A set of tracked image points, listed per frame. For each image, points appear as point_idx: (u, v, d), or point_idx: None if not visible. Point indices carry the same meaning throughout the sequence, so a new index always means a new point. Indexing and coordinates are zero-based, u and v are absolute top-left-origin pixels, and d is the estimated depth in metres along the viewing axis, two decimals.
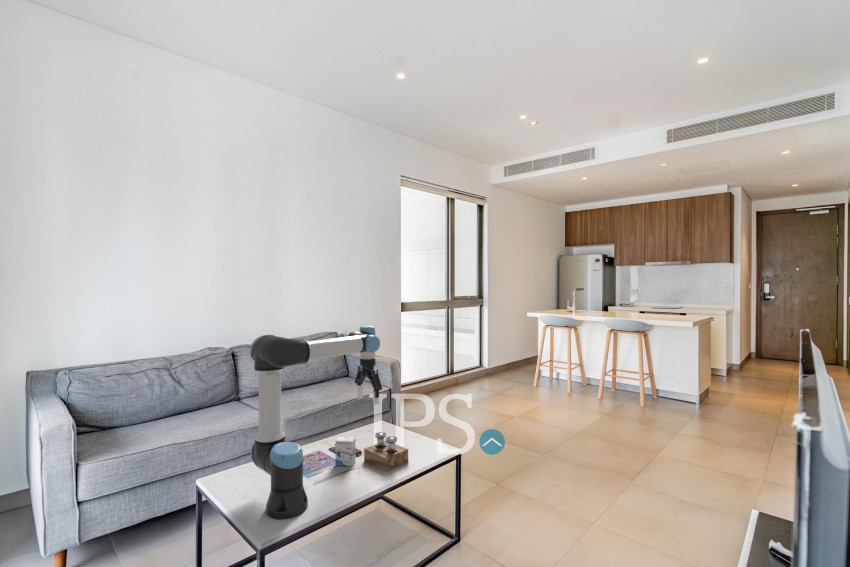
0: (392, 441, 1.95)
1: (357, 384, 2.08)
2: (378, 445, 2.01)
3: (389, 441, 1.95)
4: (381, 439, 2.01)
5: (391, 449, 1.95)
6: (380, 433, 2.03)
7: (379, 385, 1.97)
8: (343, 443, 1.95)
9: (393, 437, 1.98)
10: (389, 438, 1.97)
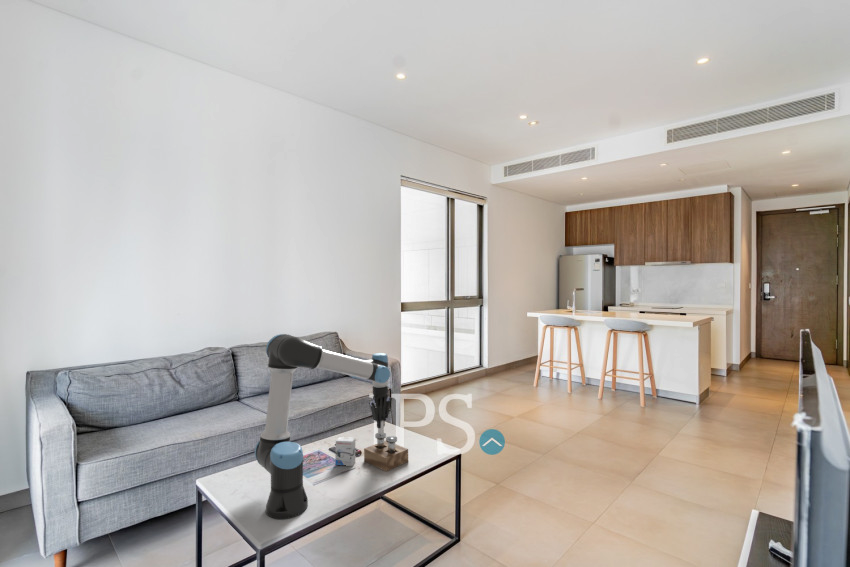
0: (392, 441, 1.95)
1: (380, 418, 2.04)
2: (378, 446, 2.01)
3: (389, 441, 1.95)
4: (381, 440, 2.01)
5: (391, 449, 1.95)
6: None
7: (374, 417, 2.00)
8: (343, 443, 1.95)
9: (393, 437, 1.98)
10: (389, 438, 1.97)
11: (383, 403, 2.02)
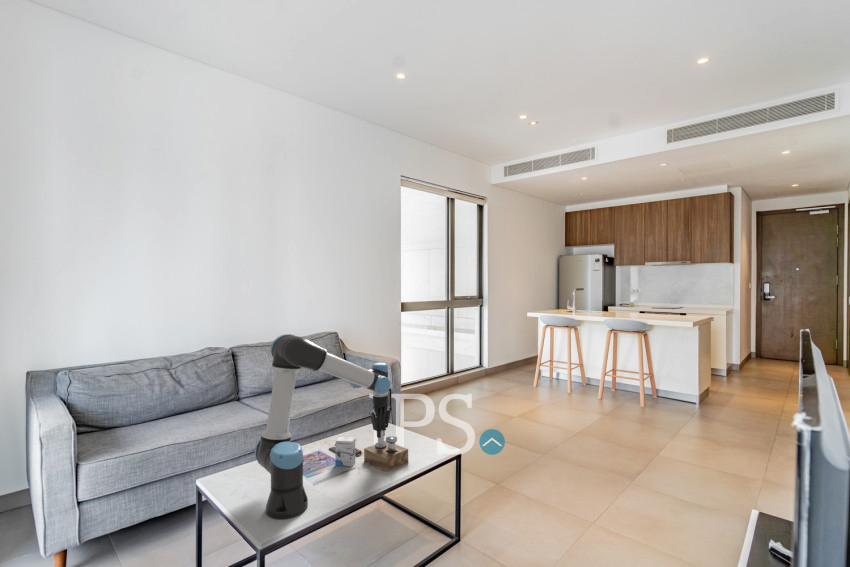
0: (392, 441, 1.95)
1: None
2: None
3: (389, 441, 1.95)
4: None
5: (391, 449, 1.95)
6: None
7: (374, 427, 2.00)
8: (343, 443, 1.95)
9: (393, 437, 1.98)
10: (389, 438, 1.97)
11: (383, 413, 2.02)
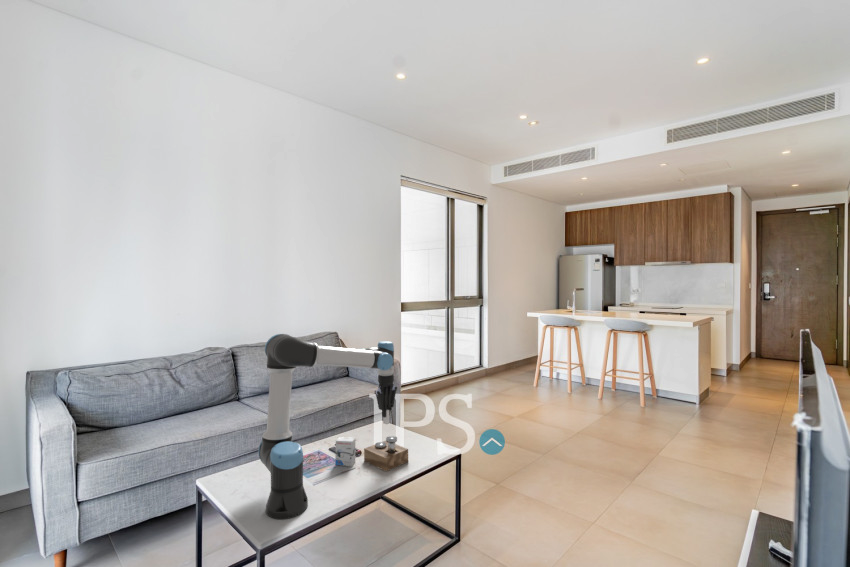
0: (392, 441, 1.95)
1: None
2: None
3: (389, 441, 1.95)
4: None
5: (391, 449, 1.95)
6: (380, 443, 2.03)
7: (380, 406, 1.96)
8: (343, 443, 1.95)
9: (393, 437, 1.98)
10: (389, 438, 1.97)
11: (389, 392, 1.99)
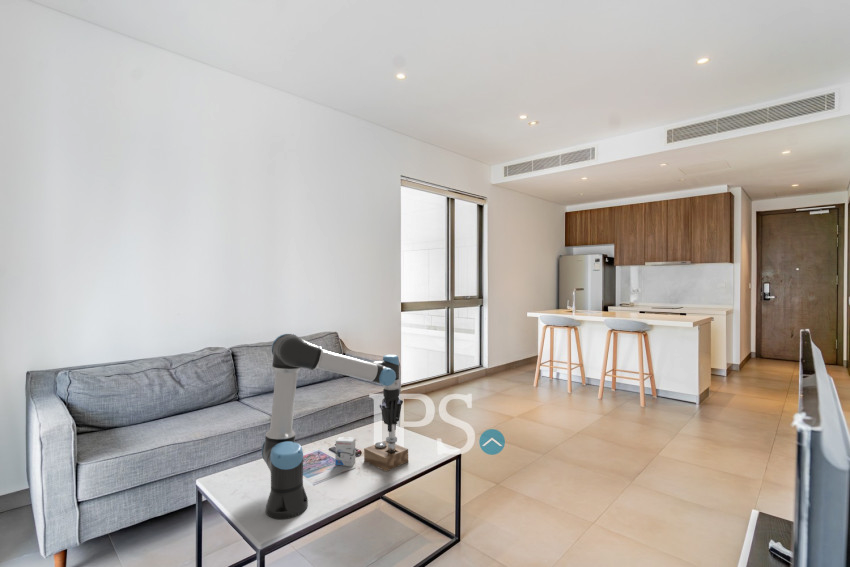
0: (392, 441, 1.95)
1: None
2: None
3: (389, 441, 1.95)
4: None
5: (391, 450, 1.95)
6: (380, 443, 2.03)
7: (385, 420, 1.94)
8: (343, 443, 1.95)
9: None
10: (389, 438, 1.97)
11: (394, 406, 1.97)
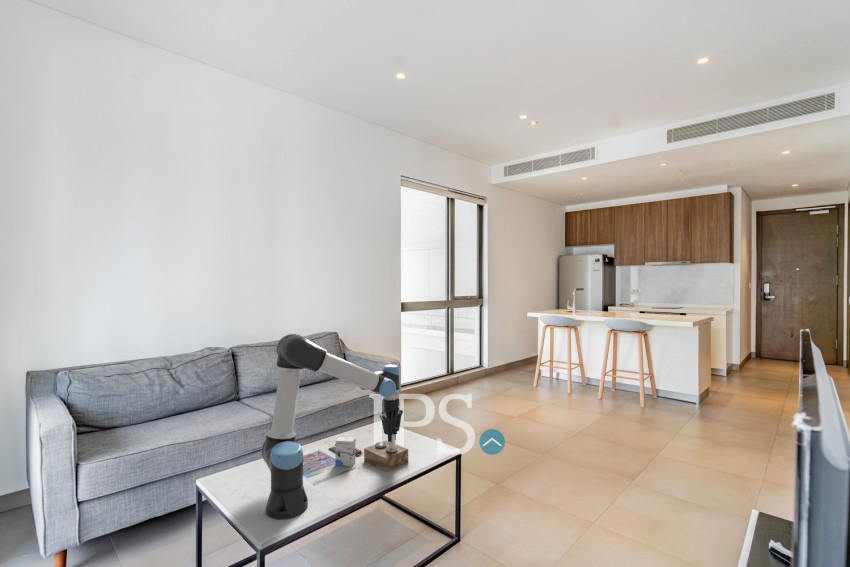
0: (392, 451, 1.95)
1: (391, 431, 1.99)
2: None
3: (389, 451, 1.95)
4: None
5: None
6: (380, 443, 2.03)
7: (385, 431, 1.94)
8: (343, 443, 1.95)
9: None
10: (389, 448, 1.97)
11: (394, 416, 1.97)
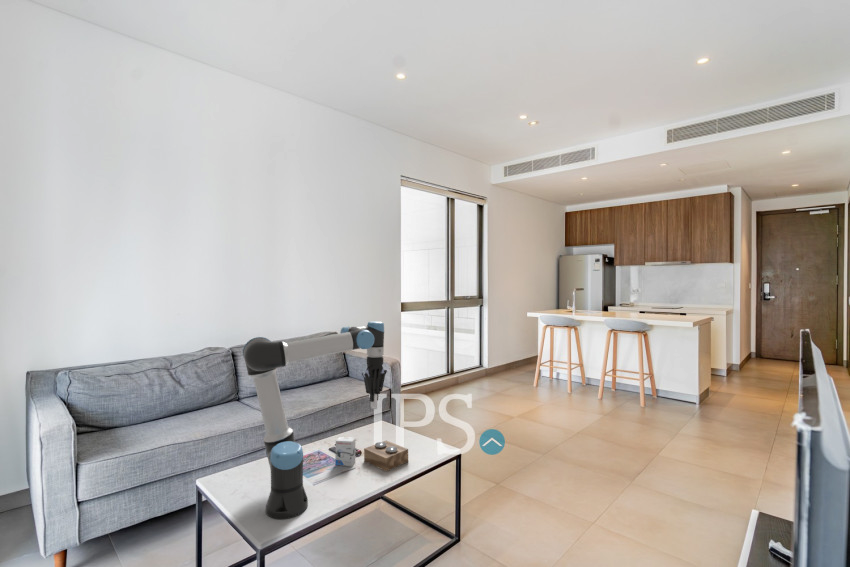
0: (392, 452, 1.95)
1: None
2: None
3: (389, 452, 1.95)
4: None
5: None
6: (380, 443, 2.03)
7: (367, 389, 1.85)
8: (343, 443, 1.95)
9: (393, 447, 1.98)
10: (389, 449, 1.97)
11: (377, 375, 1.88)
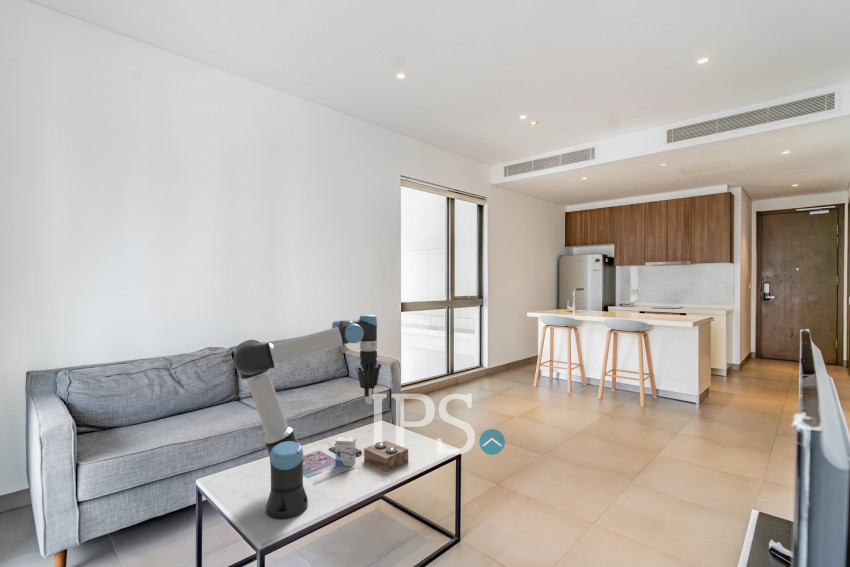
0: (392, 452, 1.95)
1: (368, 386, 1.86)
2: None
3: (389, 452, 1.95)
4: None
5: None
6: (380, 443, 2.03)
7: (361, 384, 1.82)
8: (343, 443, 1.95)
9: (393, 447, 1.98)
10: (389, 449, 1.97)
11: (371, 369, 1.84)
